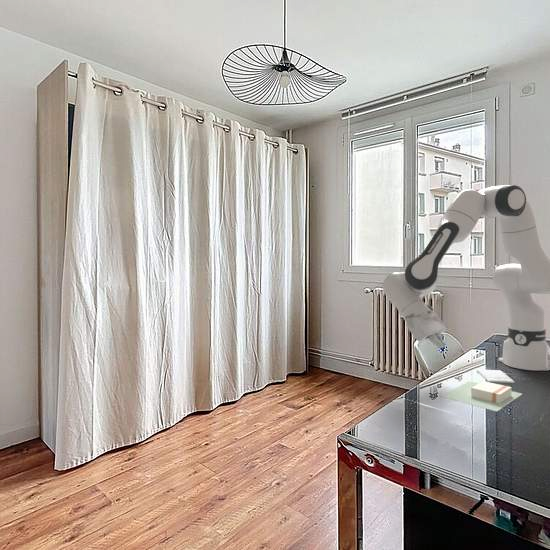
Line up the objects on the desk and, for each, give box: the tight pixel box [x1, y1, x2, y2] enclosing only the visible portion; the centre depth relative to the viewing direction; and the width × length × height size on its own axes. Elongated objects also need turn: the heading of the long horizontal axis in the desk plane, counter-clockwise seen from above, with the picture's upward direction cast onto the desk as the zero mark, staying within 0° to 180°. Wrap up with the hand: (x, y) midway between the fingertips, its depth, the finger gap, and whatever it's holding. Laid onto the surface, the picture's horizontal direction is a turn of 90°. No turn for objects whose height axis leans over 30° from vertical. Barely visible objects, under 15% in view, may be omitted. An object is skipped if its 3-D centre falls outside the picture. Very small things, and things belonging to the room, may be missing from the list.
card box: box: [471, 380, 513, 403], centre depth 118 cm, size 9×3×8 cm
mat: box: [440, 380, 523, 412], centre depth 120 cm, size 20×16×1 cm
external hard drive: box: [476, 368, 516, 384], centre depth 136 cm, size 2×8×12 cm
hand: (442, 347), depth 130 cm, fingers closed
